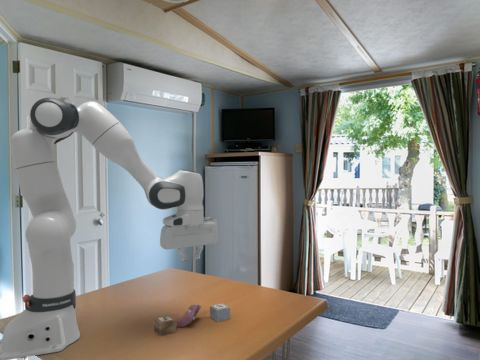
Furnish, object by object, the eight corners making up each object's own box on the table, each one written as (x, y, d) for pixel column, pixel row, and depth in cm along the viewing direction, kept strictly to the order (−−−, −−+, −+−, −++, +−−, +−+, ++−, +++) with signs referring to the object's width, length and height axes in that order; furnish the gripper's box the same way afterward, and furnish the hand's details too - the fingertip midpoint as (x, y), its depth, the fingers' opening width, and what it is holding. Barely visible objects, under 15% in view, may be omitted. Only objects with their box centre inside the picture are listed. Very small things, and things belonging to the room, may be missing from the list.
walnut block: (160, 336, 114) (160, 322, 113) (154, 330, 118) (154, 317, 118) (175, 332, 116) (175, 319, 116) (169, 327, 120) (169, 314, 120)
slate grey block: (217, 322, 124) (217, 309, 124) (210, 317, 129) (210, 305, 129) (229, 319, 127) (229, 306, 127) (222, 314, 131) (222, 302, 131)
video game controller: (186, 333, 119) (195, 314, 119) (174, 326, 120) (183, 307, 119) (196, 321, 129) (204, 304, 128) (185, 314, 130) (193, 297, 129)
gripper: (213, 215, 132) (213, 254, 132) (158, 219, 121) (158, 261, 121) (221, 217, 127) (222, 257, 127) (165, 221, 115) (165, 265, 116)
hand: (190, 259), depth 124 cm, fingers open, 3 cm apart
